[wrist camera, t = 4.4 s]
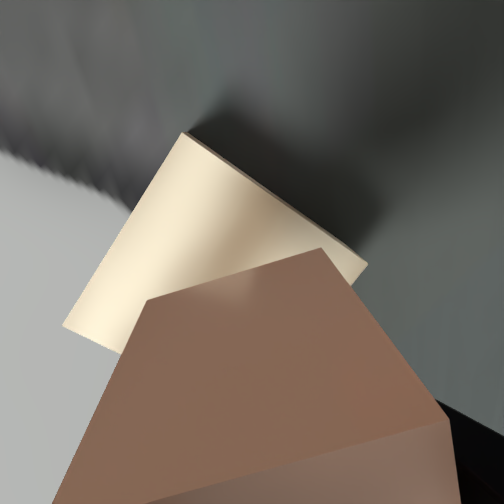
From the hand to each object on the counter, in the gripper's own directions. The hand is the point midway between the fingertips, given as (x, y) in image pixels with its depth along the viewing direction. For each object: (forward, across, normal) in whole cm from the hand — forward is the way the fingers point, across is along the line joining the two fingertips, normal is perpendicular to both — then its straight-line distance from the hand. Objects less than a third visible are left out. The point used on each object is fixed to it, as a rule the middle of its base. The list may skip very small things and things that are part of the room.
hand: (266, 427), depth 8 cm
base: (+12, +1, 0) cm, 12 cm away
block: (+3, 0, 0) cm, 3 cm away
